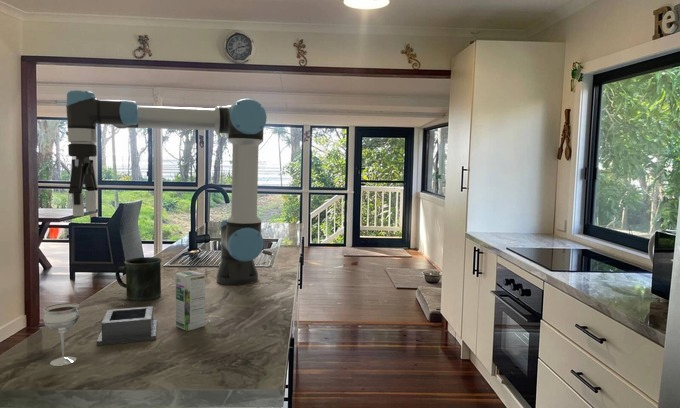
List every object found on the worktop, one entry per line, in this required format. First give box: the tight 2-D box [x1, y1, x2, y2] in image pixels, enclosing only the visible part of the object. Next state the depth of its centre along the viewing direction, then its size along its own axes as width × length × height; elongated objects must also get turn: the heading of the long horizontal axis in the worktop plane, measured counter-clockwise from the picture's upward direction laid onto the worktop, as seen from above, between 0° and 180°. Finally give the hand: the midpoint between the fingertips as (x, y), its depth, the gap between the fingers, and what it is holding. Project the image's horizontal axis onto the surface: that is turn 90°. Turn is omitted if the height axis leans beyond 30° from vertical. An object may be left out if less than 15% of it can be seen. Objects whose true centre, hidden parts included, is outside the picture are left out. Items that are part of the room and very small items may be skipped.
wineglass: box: [43, 302, 80, 367], centre depth 103 cm, size 7×7×12 cm
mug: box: [115, 256, 163, 302], centre depth 153 cm, size 11×15×12 cm
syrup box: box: [175, 270, 206, 332], centre depth 126 cm, size 6×6×14 cm
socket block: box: [96, 305, 158, 346], centre depth 121 cm, size 13×13×5 cm
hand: (84, 213), depth 145 cm, fingers open, 13 cm apart
